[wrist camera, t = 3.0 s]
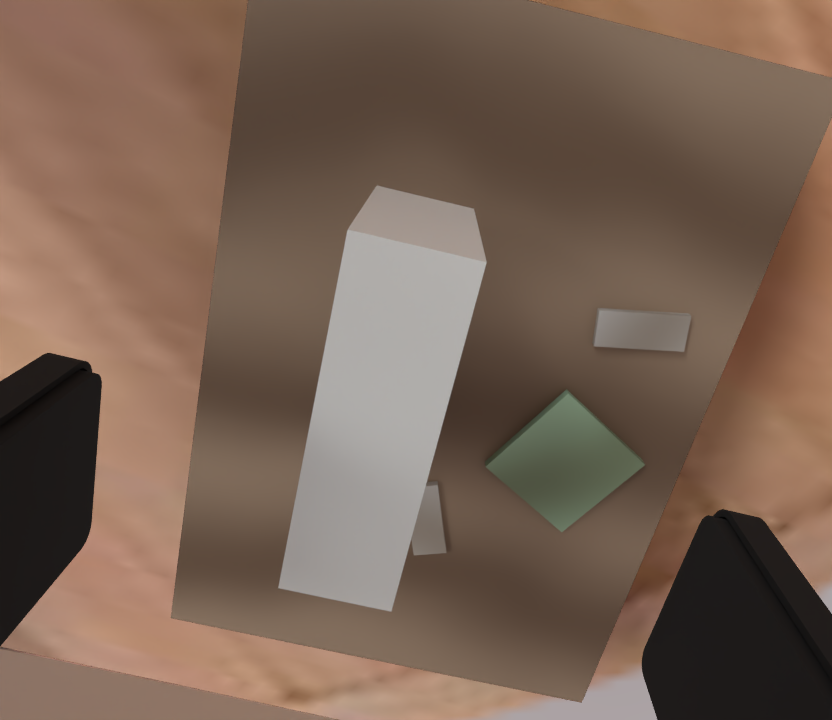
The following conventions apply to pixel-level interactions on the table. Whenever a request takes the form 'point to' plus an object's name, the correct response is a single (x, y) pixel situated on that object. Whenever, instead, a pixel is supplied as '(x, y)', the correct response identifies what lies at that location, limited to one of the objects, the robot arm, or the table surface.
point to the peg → (382, 394)
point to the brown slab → (487, 309)
